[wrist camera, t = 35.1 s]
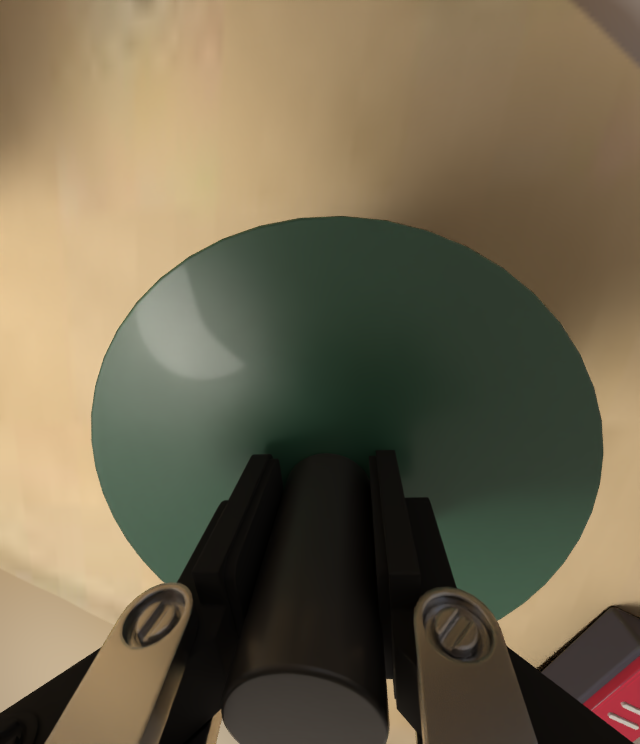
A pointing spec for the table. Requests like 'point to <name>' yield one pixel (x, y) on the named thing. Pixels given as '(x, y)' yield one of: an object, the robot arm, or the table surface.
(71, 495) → the table surface
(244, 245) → the tin lid
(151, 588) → the robot arm
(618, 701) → the grey red flat block
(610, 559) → the table surface
